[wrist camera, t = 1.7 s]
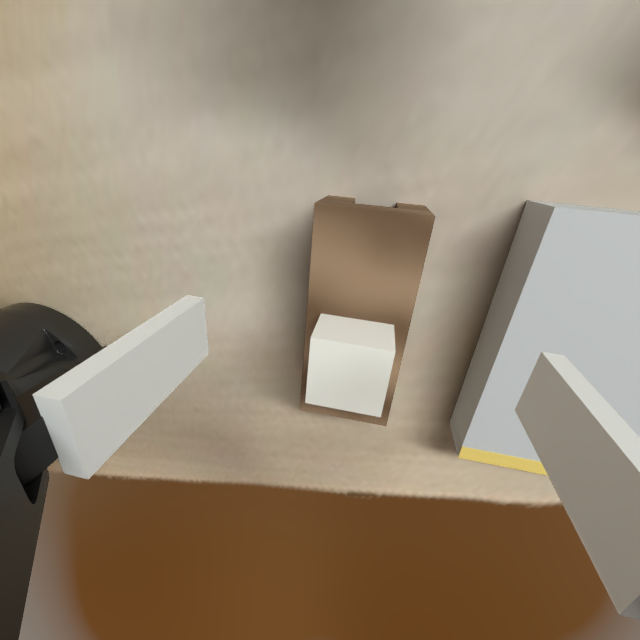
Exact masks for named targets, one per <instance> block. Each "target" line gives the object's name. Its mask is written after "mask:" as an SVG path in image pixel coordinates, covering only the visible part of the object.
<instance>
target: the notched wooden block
mask: <svg viewBox="0 0 640 640" xmlns="http://www.w3.org/2000/svg"><path fill="white" fill-rule="evenodd" d="M434 220H435V216H434V215H433V214H432V212H431V211H430V210H429V209H428V208H427V207H426V206H423V205H413V204H404V203H397V204H396V208H392V207H383V206H373V205H364V204H355V198H348V197H339V196H329V195H328V196H327V197H325V198H323V199H321V200H319V201H317V202H316V203H315V205H314V219H313V233H312V247H311V261H310V275H309V289H308V303H307V317H306V331H305V345H304V359H303V372H302V386H301V400H300V410H305V411H310V412H316V413H321V414H326V415H331V416H336V417H342V418H347V419H352V420H357V421H362V422H367V423H373V424H378V425H383V426H386V425H387V420H388V416H389V412H390V407H391V403H392V399H393V395H394V390H395V386H396V382H397V378H398V373H399V369H400V365H401V360H402V356H403V352H404V348H405V343H406V339H407V335H408V331H409V326H410V322H411V318H412V313H413V309H414V305H415V301H416V296H417V292H418V288H419V284H420V279H421V275H422V271H423V267H424V262H425V258H426V254H427V249H428V245H429V241H430V237H431V232H432V228H433V224H434ZM321 313H322V314H328V315H335V316H341V317H347V318H354V319H360V320H367V321H373V322H379V323H386V324H392V325H394V332H395V349H396V352H395V357H394V361H393V365H392V370H391V374H390V379H389V383H388V388H387V392H386V397H385V401H384V406H383V410H382V414H381V417H376V416H371V415H366V414H360V413H355V412H350V411H345V410H340V409H334V408H329V407H324V406H319V405H313V404H308V403H305V398H306V386H307V374H308V363H309V351H310V339H311V335H312V333H313V331H314V328H315V326H316V324H317V321H318V319H319V317H320V314H321Z"/></svg>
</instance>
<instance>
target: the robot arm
mask: <svg viewBox="0 0 640 640" xmlns="http://www.w3.org/2000/svg"><path fill="white" fill-rule="evenodd" d="M208 354H209V349H208V337H207V325H206V314H205V302H204V298H203V297H197V296H191V295H186V296H185V297H183V298H182V299H180V300H179V301H177V302H175V303H174V304H172V305H171V306H169V307H168V308H166V309H165V310H163V311H161V312H160V313H158V314H157V315H155V316H154V317H152V318H151V319H149V320H147V321H146V322H144V323H143V324H141V325H140V326H138V327H137V328H135V329H133V330H132V331H130V332H129V333H127V334H126V335H124V336H123V337H121V338H119V339H118V340H116V341H115V342H113V343H112V344H110V345H109V346H104V347H100V345H99V344H98V343H97V342H96V340H95V339H94V338H93V337H92V336H91V335H90V334H89V333H88V332H87V331H86V330H85V329H84V328H82V327H81V326H80V325H79V324H77V323H76V322H75V321H73V320H72V319H70V318H69V317H67V316H66V315H64V314H62V313H60V312H58V311H56V310H54V309H51V308H49V307H46V306H43V305H39V304H34V303H17V304H13V305H10V306H7V307H5V308H2V309H0V640H18V639H19V634H20V628H21V622H22V618H23V612H24V607H25V602H26V597H27V591H28V586H29V581H30V576H31V571H32V565H33V560H34V555H35V550H36V544H37V539H38V534H39V529H40V524H41V518H42V513H43V508H44V503H45V497H46V492H47V487H48V481H49V473H48V470H47V467H48V466H49V465H50V464H52V463H53V462H54V461H55V460H56V459H57V458H58V460H59V462H60V465H61V467H62V470H63V472H64V473H65V474H69V475H73V476H77V477H81V478H85V479H89V478H90V477H91V476H92V475H93V474H94V473H95V472H96V471H97V470H98V469H99V468H100V467H101V466H102V465H103V464H104V463H105V461H106V460H107V459H108V458H109V457H110V456H111V455H112V454H113V453H114V452H115V451H116V450H117V449H118V448H119V447H120V446H121V445H122V444H123V443H124V442H125V441H126V440H127V439H128V437H129V436H130V435H131V434H132V433H133V432H134V431H135V430H136V429H137V428H138V427H139V426H140V425H141V424H142V423H143V422H144V421H145V420H146V419H147V418H148V417H149V416H150V414H151V413H152V412H153V411H154V410H155V409H156V408H157V407H158V406H159V405H160V404H161V403H162V402H163V401H164V400H165V399H166V398H167V397H168V396H169V395H170V394H171V393H172V392H173V390H174V389H175V388H176V387H177V386H178V385H179V384H180V383H181V382H182V381H183V380H184V379H185V378H186V377H187V376H188V375H189V374H190V373H191V372H192V371H193V370H194V369H195V367H196V366H197V365H198V364H199V363H200V362H201V361H202V360H203V359H204V358H205V357H206V356H207V355H208ZM515 412H516V414H517V416H518V418H519V420H520V422H521V423H522V425H523V427H524V429H525V431H526V433H527V435H528V437H529V439H530V441H531V443H532V445H533V447H534V449H535V451H536V453H537V455H538V457H539V459H540V461H541V463H542V465H543V467H544V468H545V470H546V472H547V474H548V476H549V478H550V480H551V482H552V484H553V486H554V488H555V490H556V492H557V494H558V496H559V498H560V500H561V502H562V504H563V506H564V508H565V509H566V512H567V513H568V515H569V517H570V519H571V521H572V523H573V525H574V527H575V529H576V531H577V533H578V535H579V537H580V539H581V541H582V543H583V545H584V547H585V549H586V550H587V553H588V554H589V557H590V559H591V560H592V562H593V564H594V566H595V568H596V570H597V572H598V574H599V576H600V578H601V580H602V582H603V584H604V586H605V588H606V590H607V592H608V594H609V596H610V598H611V600H612V602H613V603H614V606H615V607H616V609H617V611H618V613H619V615H622V616H626V617H630V618H634V619H638V620H640V437H639V436H638V435H637V434H636V433H635V432H634V431H633V430H632V428H631V427H630V426H629V425H628V424H627V423H626V422H625V421H624V420H623V419H622V418H621V416H620V415H619V414H618V413H617V412H616V411H615V410H614V409H613V408H612V407H611V406H610V404H609V403H608V402H607V401H606V400H605V399H604V398H603V397H602V396H601V395H600V394H599V393H598V391H597V390H596V389H595V388H594V387H593V386H592V385H591V384H590V383H589V382H588V381H587V379H586V378H585V377H584V376H583V375H582V374H581V373H580V372H579V371H578V370H577V369H576V367H575V366H574V365H573V364H572V363H571V362H570V361H569V360H568V359H567V358H566V357H565V356H564V355H559V354H553V353H547V352H541V354H540V356H539V358H538V360H537V362H536V365H535V367H534V369H533V371H532V373H531V376H530V378H529V380H528V382H527V384H526V386H525V389H524V391H523V393H522V395H521V397H520V399H519V402H518V404H517V406H516V408H515Z"/></svg>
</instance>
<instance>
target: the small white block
mask: <svg viewBox="0 0 640 640" xmlns="http://www.w3.org/2000/svg"><path fill="white" fill-rule="evenodd" d="M395 352H396V349H395V332H394V325H392V324H386V323H379V322H373V321H367V320H360V319H354V318H347V317H341V316H335V315H328V314H322V313H321V314H320V317H319V319H318V321H317V324H316V326H315V328H314V331H313V333H312V335H311V339H310V351H309V363H308V374H307V386H306V398H305V403H308V404H313V405H319V406H324V407H329V408H334V409H340V410H345V411H350V412H355V413H360V414H366V415H371V416H376V417H381V414H382V410H383V406H384V401H385V397H386V392H387V388H388V383H389V379H390V374H391V370H392V365H393V361H394V357H395Z"/></svg>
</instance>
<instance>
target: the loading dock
mask: <svg viewBox="0 0 640 640" xmlns="http://www.w3.org/2000/svg"><path fill="white" fill-rule="evenodd" d="M541 352H547V353H553V354H559V355H564V356H565V357H566V358H567V359H568V360H569V361H570V362H571V363H572V364H573V365H574V366H575V367H576V369H577V370H578V371H579V372H580V373H581V374H582V375H583V376H584V377H585V378H586V379H587V381H588V382H589V383H590V384H591V385H592V386H593V387H594V388H595V389H596V390H597V391H598V393H599V394H600V395H601V396H602V397H603V398H604V399H605V400H606V401H607V402H608V403H609V404H610V406H611V407H612V408H613V409H614V410H615V411H616V412H617V413H618V414H619V415H620V416H621V418H622V419H623V420H624V421H625V422H626V423H627V424H628V425H629V426H630V427H631V428H632V430H633V431H634V432H635V433H636V434H637V435H638V436H639V437H640V211H630V210H620V209H610V208H600V207H590V206H580V205H570V204H561V203H551V202H541V201H531V200H527V202H526V205H525V208H524V211H523V213H522V216H521V219H520V222H519V225H518V228H517V231H516V233H515V236H514V239H513V242H512V245H511V248H510V251H509V254H508V256H507V259H506V262H505V265H504V268H503V271H502V274H501V276H500V279H499V282H498V285H497V288H496V291H495V294H494V297H493V299H492V302H491V305H490V308H489V311H488V314H487V317H486V319H485V322H484V325H483V328H482V331H481V334H480V337H479V340H478V342H477V345H476V348H475V351H474V354H473V357H472V360H471V362H470V365H469V368H468V371H467V374H466V377H465V380H464V383H463V385H462V388H461V391H460V394H459V397H458V400H457V403H456V405H455V408H454V411H453V414H452V417H451V420H450V427H451V431H452V435H453V439H454V443H455V447H456V451H457V455H458V458H463V459H468V460H473V461H478V462H483V463H488V464H493V465H498V466H503V467H508V468H513V469H518V470H523V471H528V472H533V473H538V474H543V475H548V474H547V472H546V470H545V468H544V467H543V465H542V463H541V461H540V459H539V457H538V455H537V453H536V451H535V449H534V447H533V445H532V443H531V441H530V439H529V437H528V435H527V433H526V431H525V429H524V427H523V425H522V423H521V422H520V420H519V418H518V416H517V414H516V412H515V408H516V406H517V404H518V402H519V399H520V397H521V395H522V393H523V391H524V389H525V386H526V384H527V382H528V380H529V378H530V376H531V373H532V371H533V369H534V367H535V365H536V362H537V360H538V358H539V356H540V354H541Z"/></svg>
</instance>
